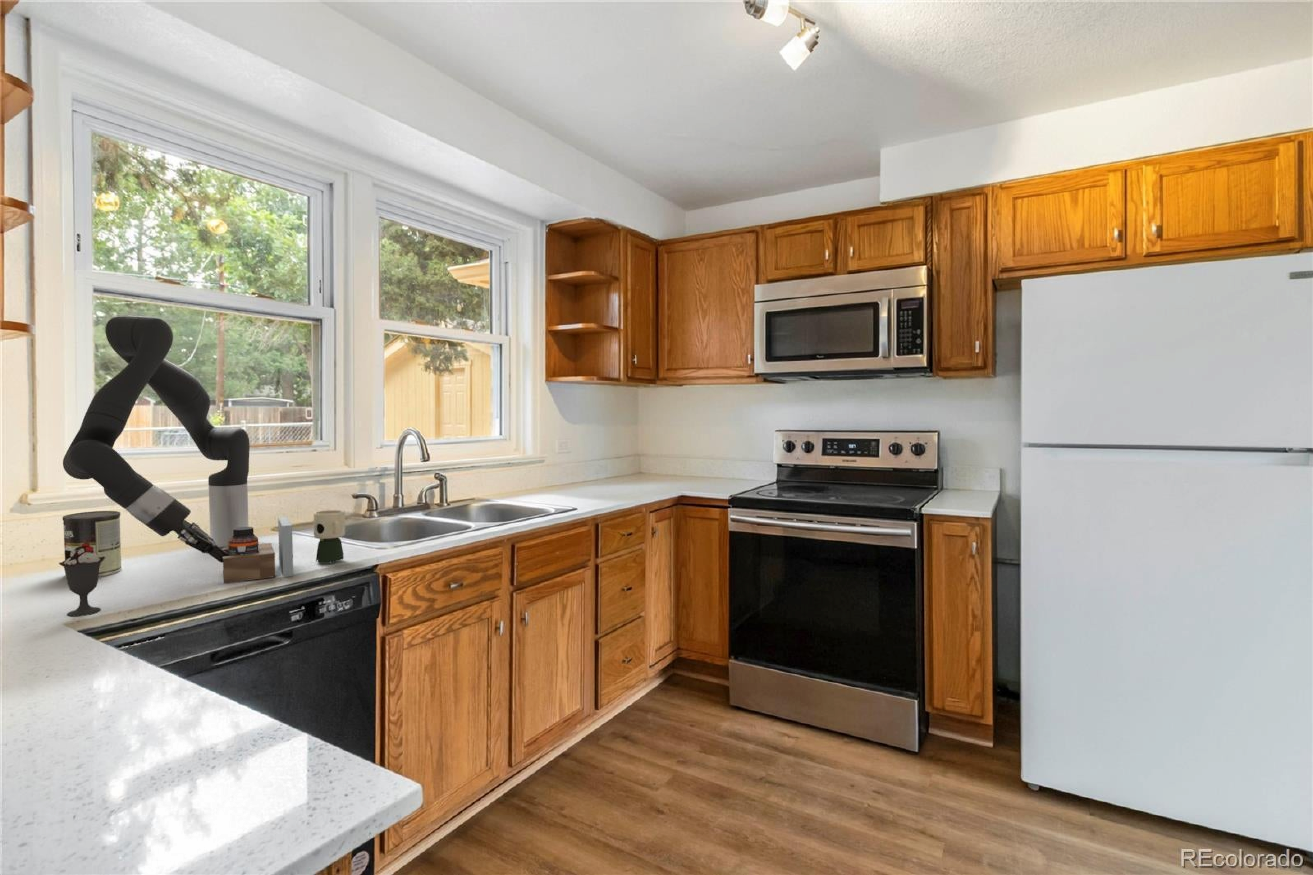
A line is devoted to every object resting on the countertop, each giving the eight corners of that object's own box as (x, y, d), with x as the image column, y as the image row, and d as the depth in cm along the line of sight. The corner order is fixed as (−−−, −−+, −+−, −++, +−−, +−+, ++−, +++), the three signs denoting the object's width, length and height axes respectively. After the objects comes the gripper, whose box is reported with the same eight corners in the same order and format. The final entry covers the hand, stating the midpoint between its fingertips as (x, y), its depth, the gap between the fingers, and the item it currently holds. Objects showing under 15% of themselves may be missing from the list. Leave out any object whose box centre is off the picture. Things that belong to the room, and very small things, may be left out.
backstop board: (279, 565, 162) (278, 517, 161) (288, 564, 163) (287, 516, 162) (283, 576, 151) (282, 526, 150) (293, 575, 152) (292, 525, 151)
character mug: (307, 561, 166) (306, 510, 166) (336, 556, 171) (335, 507, 171) (323, 568, 159) (322, 516, 158) (352, 563, 164) (352, 512, 163)
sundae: (109, 612, 125) (106, 535, 124) (62, 620, 120) (59, 540, 119) (104, 604, 130) (101, 530, 129) (59, 612, 125) (56, 535, 124)
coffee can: (67, 581, 146) (64, 519, 145) (62, 573, 153) (60, 514, 152) (126, 573, 153) (123, 514, 153) (118, 565, 160) (116, 509, 160)
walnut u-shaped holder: (223, 570, 155) (222, 547, 155) (271, 564, 161) (271, 543, 161) (223, 583, 144) (222, 558, 144) (275, 576, 150) (274, 553, 150)
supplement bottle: (248, 579, 149) (247, 530, 148) (222, 578, 149) (221, 530, 148) (264, 572, 155) (263, 525, 154) (239, 572, 155) (238, 525, 154)
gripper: (171, 501, 138) (240, 552, 146) (175, 494, 149) (239, 541, 157) (140, 528, 136) (211, 578, 143) (146, 519, 147) (213, 566, 154)
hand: (226, 559), depth 150 cm, fingers closed
